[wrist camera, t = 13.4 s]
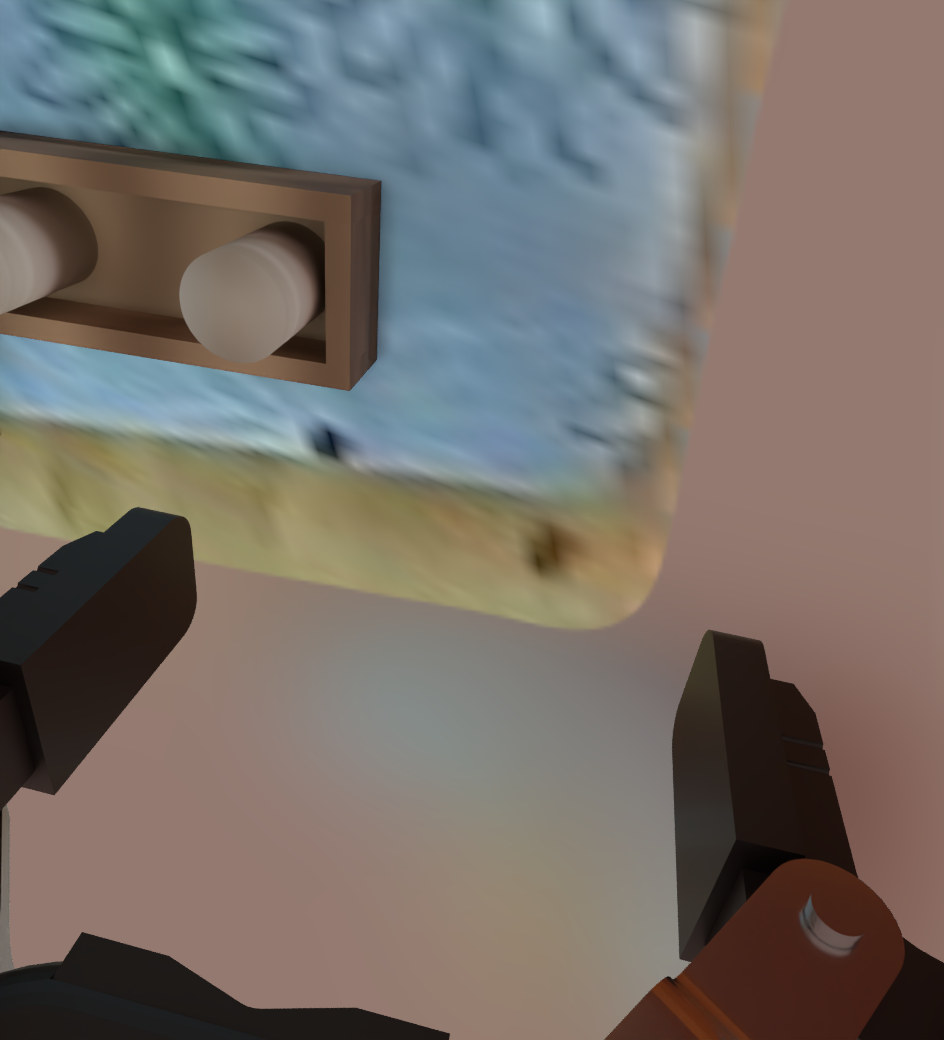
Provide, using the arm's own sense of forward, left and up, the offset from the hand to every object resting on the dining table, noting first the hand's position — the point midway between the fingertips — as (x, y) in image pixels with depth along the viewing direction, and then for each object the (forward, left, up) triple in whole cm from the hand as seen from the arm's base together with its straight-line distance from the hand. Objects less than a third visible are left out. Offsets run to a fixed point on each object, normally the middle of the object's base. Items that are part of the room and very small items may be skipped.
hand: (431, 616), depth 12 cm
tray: (-10, -8, -17) cm, 21 cm away
